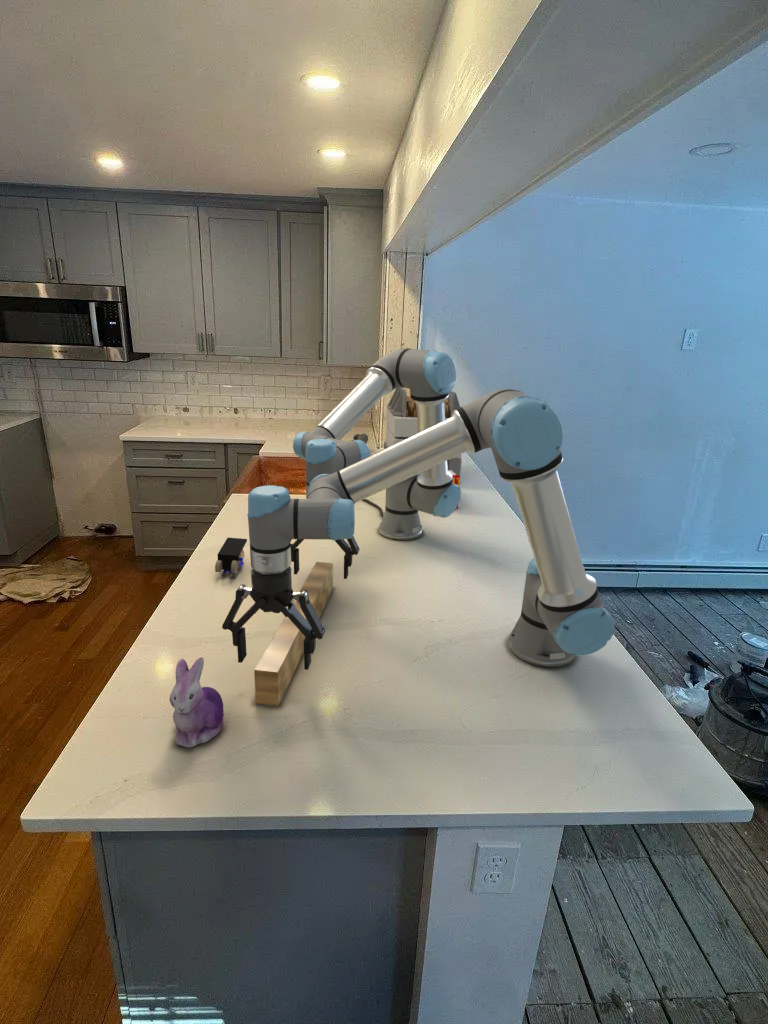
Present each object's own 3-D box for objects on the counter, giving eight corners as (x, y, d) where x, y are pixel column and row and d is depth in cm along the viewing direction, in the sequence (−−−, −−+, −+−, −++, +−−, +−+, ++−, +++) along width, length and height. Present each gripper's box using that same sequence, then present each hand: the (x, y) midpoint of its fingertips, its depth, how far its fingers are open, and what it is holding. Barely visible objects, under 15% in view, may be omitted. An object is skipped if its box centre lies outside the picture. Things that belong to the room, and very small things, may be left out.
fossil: (344, 439, 317) (365, 424, 312) (355, 453, 320) (376, 438, 315) (338, 453, 298) (360, 437, 293) (349, 467, 300) (371, 451, 295)
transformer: (382, 463, 289) (386, 382, 275) (445, 464, 293) (451, 384, 279) (390, 482, 257) (394, 392, 243) (460, 483, 261) (468, 394, 247)
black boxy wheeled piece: (238, 584, 162) (249, 557, 175) (236, 562, 158) (247, 536, 172) (215, 584, 161) (227, 556, 175) (212, 561, 158) (225, 535, 171)
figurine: (177, 757, 98) (169, 685, 93) (168, 720, 106) (161, 652, 101) (232, 741, 102) (228, 671, 97) (219, 707, 111) (215, 640, 105)
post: (316, 586, 160) (316, 561, 157) (332, 588, 159) (333, 563, 157) (255, 703, 112) (254, 669, 110) (278, 706, 112) (277, 672, 109)
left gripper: (269, 501, 143) (272, 576, 151) (366, 508, 141) (364, 585, 148) (278, 492, 150) (280, 564, 158) (371, 499, 148) (369, 572, 155)
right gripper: (199, 569, 105) (208, 666, 112) (331, 581, 102) (331, 680, 110) (216, 553, 112) (223, 645, 119) (339, 564, 109) (339, 657, 117)
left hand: (321, 574), depth 153 cm, fingers open, 13 cm apart
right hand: (274, 662), depth 115 cm, fingers open, 13 cm apart
